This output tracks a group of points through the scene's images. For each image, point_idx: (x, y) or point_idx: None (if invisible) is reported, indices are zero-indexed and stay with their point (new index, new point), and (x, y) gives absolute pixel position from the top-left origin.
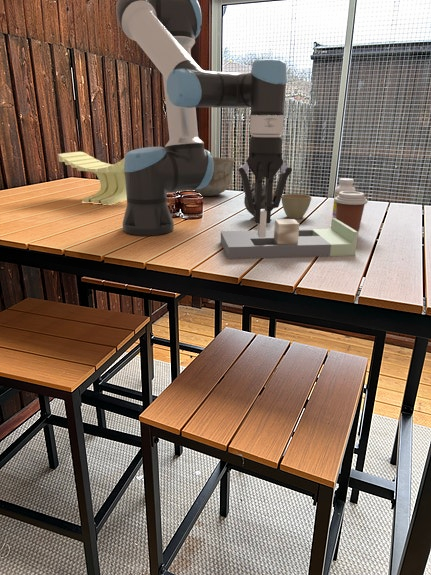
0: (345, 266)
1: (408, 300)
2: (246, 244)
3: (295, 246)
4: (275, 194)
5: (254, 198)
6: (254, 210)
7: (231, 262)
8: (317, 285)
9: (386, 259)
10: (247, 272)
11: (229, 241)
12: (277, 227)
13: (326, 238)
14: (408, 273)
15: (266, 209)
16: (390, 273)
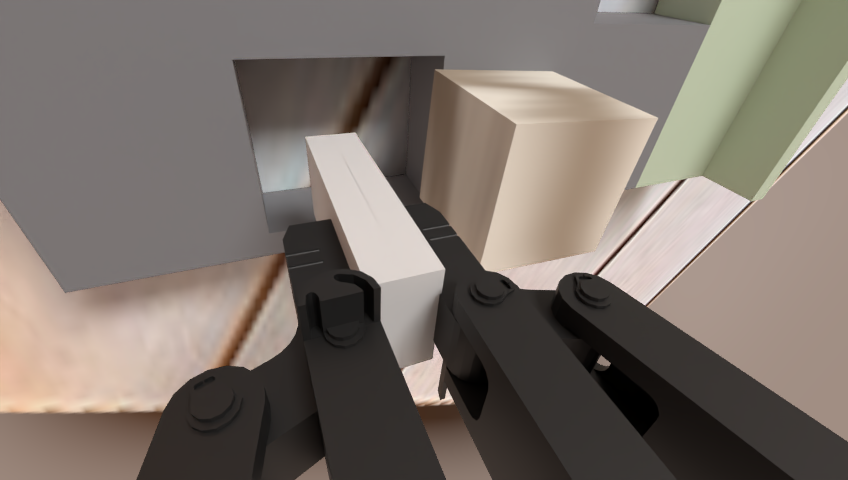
0: (570, 257)
1: None
2: (208, 224)
3: None
4: (677, 444)
5: (331, 473)
6: (299, 329)
7: (125, 283)
8: (428, 384)
9: (707, 187)
10: (229, 365)
11: (16, 152)
12: (468, 213)
13: (693, 86)
14: (654, 279)
15: (442, 350)
16: (624, 286)
